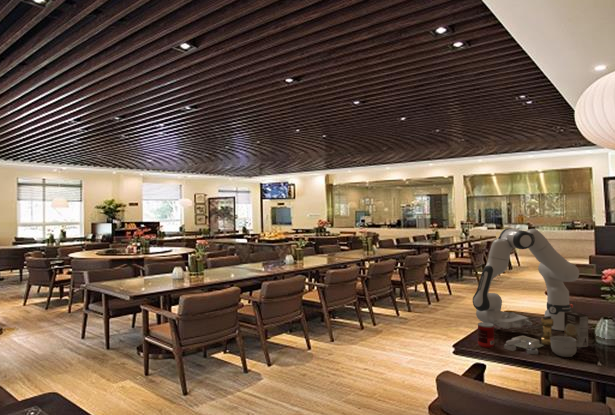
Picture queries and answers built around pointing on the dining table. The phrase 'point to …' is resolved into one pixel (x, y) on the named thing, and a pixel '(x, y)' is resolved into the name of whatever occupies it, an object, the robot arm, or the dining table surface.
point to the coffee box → (576, 327)
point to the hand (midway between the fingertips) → (526, 325)
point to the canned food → (486, 334)
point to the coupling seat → (521, 343)
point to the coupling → (546, 330)
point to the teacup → (563, 346)
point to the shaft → (531, 348)
